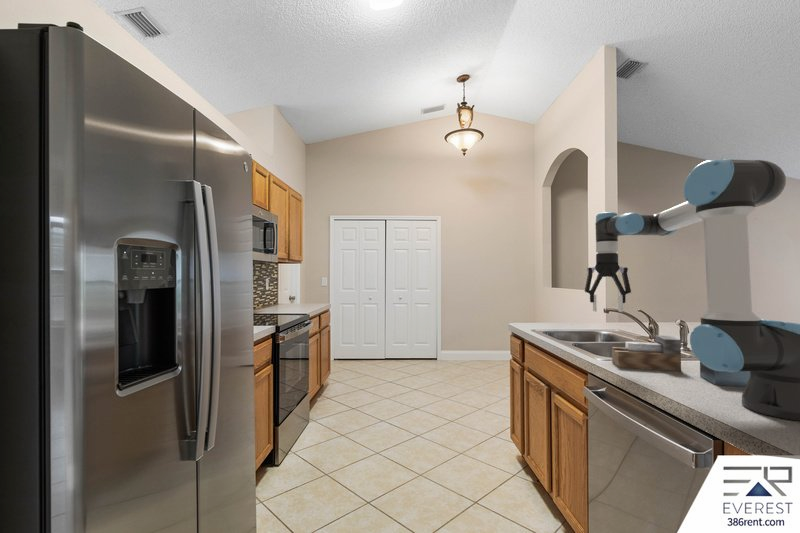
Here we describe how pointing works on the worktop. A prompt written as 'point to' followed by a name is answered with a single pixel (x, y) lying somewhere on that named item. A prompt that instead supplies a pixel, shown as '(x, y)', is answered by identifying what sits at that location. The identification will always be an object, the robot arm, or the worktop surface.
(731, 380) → the v block
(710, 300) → the robot arm
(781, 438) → the worktop surface
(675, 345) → the wooden box
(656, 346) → the steel bar
